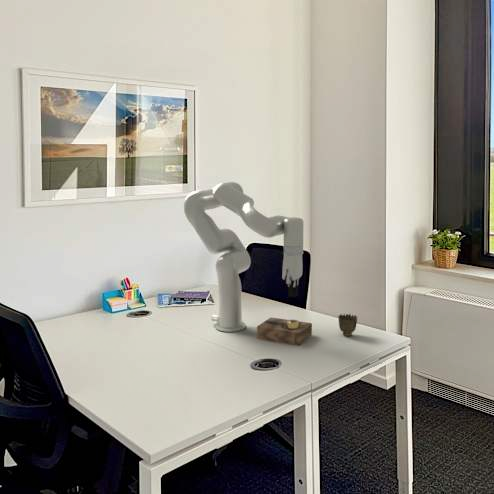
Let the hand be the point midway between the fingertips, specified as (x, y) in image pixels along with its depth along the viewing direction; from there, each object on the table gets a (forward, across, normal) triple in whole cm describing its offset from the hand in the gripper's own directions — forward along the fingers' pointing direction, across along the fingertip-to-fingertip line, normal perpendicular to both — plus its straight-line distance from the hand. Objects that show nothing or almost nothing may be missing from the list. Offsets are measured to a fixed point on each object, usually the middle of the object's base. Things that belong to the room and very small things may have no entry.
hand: (293, 296), depth 218 cm
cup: (+17, -12, +18) cm, 28 cm away
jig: (+17, 0, -4) cm, 17 cm away
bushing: (+17, 0, 0) cm, 17 cm away
